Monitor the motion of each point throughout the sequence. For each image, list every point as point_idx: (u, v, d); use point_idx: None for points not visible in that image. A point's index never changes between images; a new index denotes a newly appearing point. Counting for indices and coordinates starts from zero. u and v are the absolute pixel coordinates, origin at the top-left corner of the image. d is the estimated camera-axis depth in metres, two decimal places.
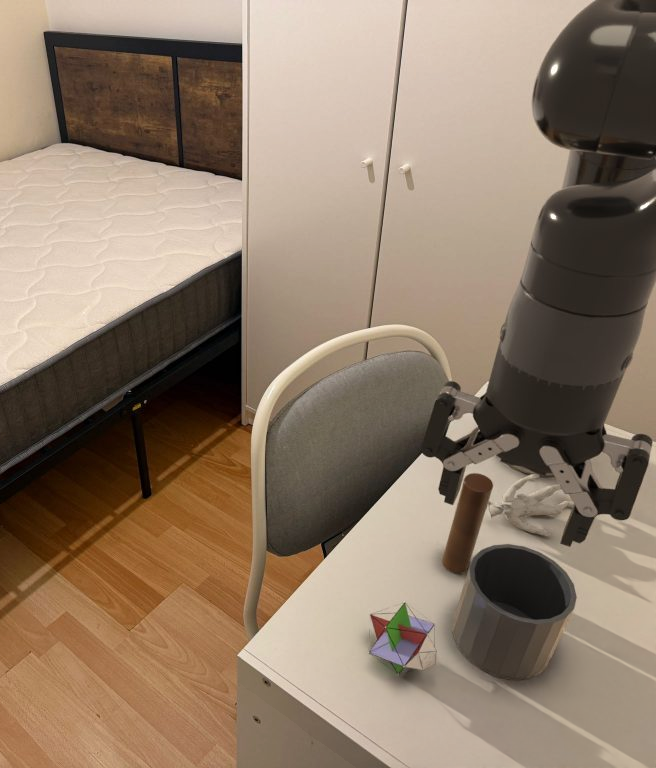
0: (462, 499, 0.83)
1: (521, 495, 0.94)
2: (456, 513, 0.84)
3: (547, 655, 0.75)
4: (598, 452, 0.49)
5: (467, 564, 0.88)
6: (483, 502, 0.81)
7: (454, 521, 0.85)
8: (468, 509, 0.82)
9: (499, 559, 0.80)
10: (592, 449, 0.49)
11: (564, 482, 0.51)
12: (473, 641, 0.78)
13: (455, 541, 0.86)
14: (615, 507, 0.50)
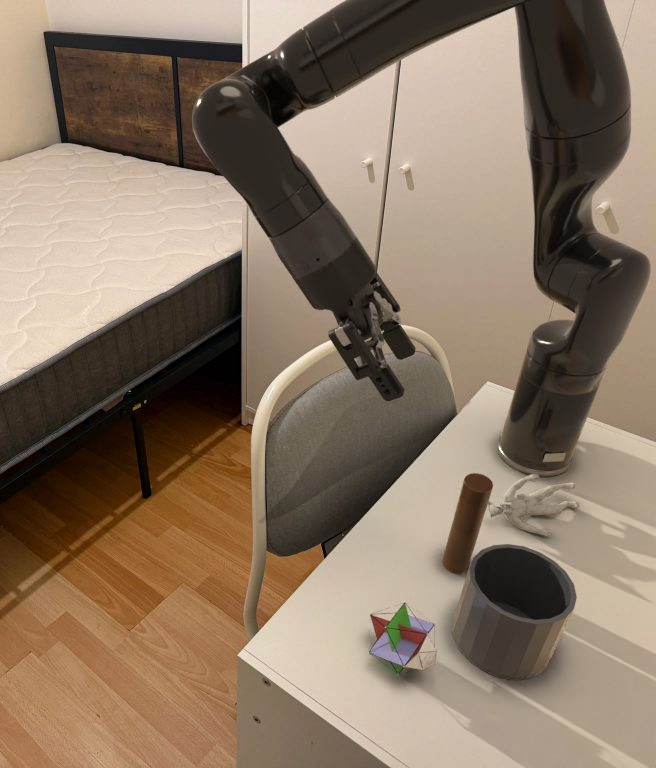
0: (462, 499, 0.83)
1: (521, 495, 0.94)
2: (456, 513, 0.84)
3: (547, 655, 0.75)
4: None
5: (467, 564, 0.88)
6: (483, 502, 0.81)
7: (454, 521, 0.85)
8: (468, 509, 0.82)
9: (499, 559, 0.80)
10: None
11: None
12: (473, 641, 0.78)
13: (455, 541, 0.86)
14: None
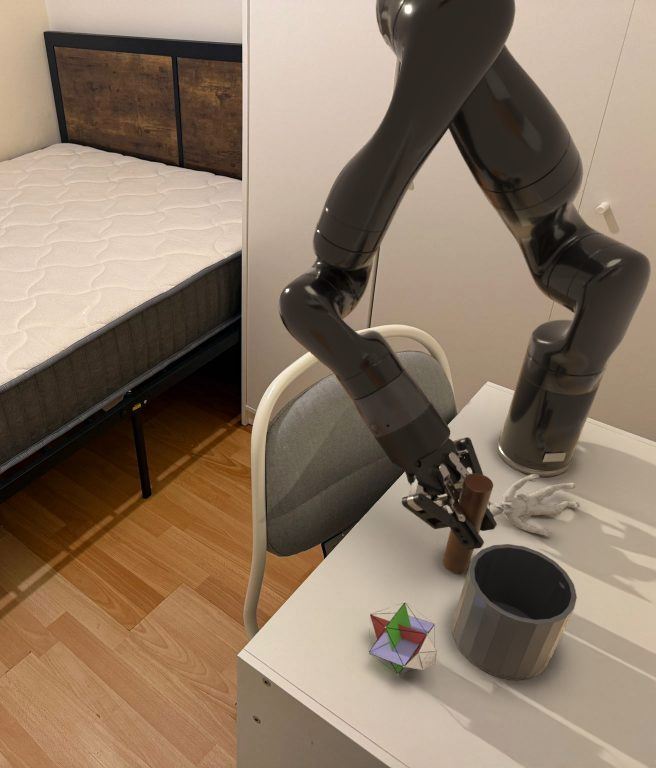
0: (462, 499, 0.82)
1: (521, 495, 0.94)
2: None
3: (547, 655, 0.75)
4: None
5: (467, 564, 0.88)
6: (484, 502, 0.81)
7: None
8: (468, 509, 0.82)
9: (499, 559, 0.80)
10: None
11: None
12: (473, 641, 0.78)
13: (455, 541, 0.86)
14: None
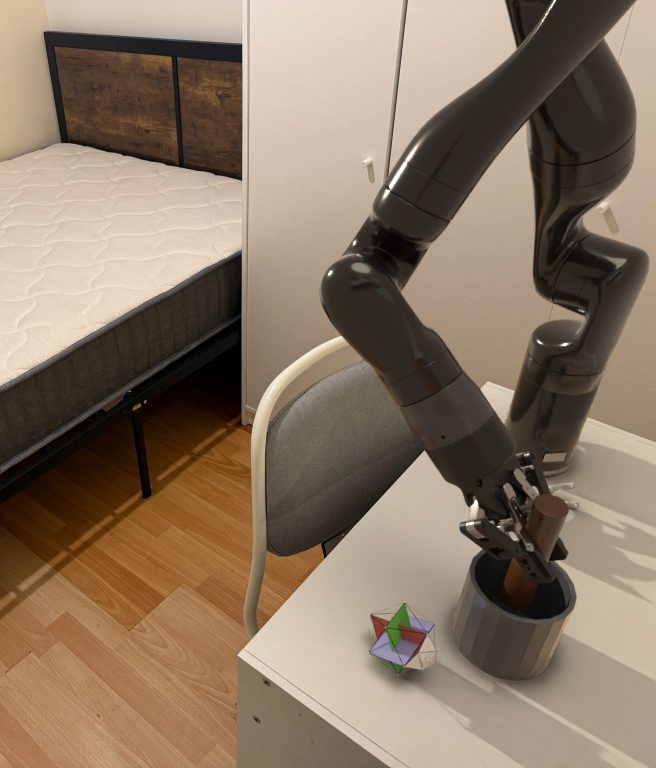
0: (530, 524, 0.70)
1: None
2: None
3: (547, 655, 0.75)
4: None
5: (531, 599, 0.75)
6: (557, 528, 0.68)
7: None
8: (538, 536, 0.69)
9: None
10: None
11: None
12: (473, 641, 0.78)
13: (518, 573, 0.73)
14: None
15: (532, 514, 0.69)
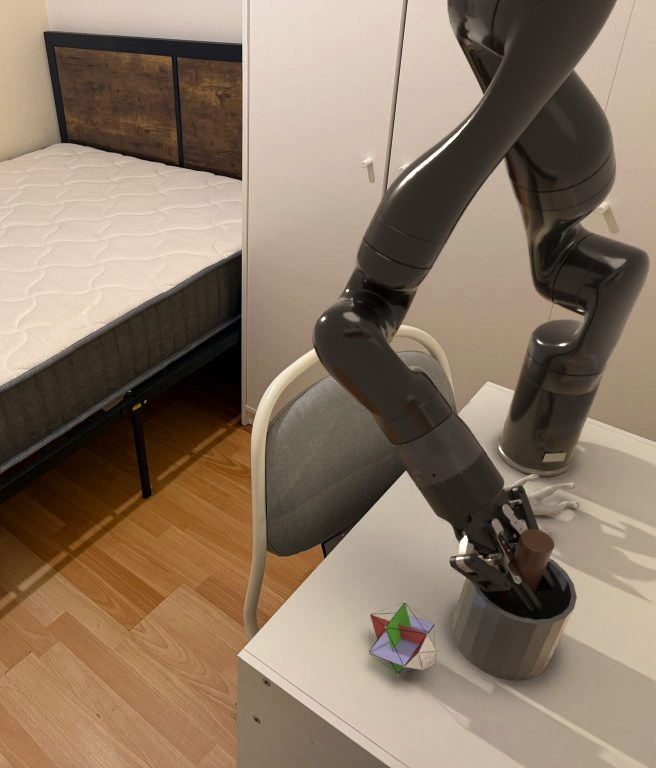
0: (517, 558, 0.73)
1: None
2: None
3: (547, 655, 0.75)
4: None
5: None
6: (543, 562, 0.71)
7: None
8: (525, 570, 0.72)
9: None
10: None
11: None
12: (473, 641, 0.78)
13: (507, 603, 0.76)
14: None
15: (519, 549, 0.72)
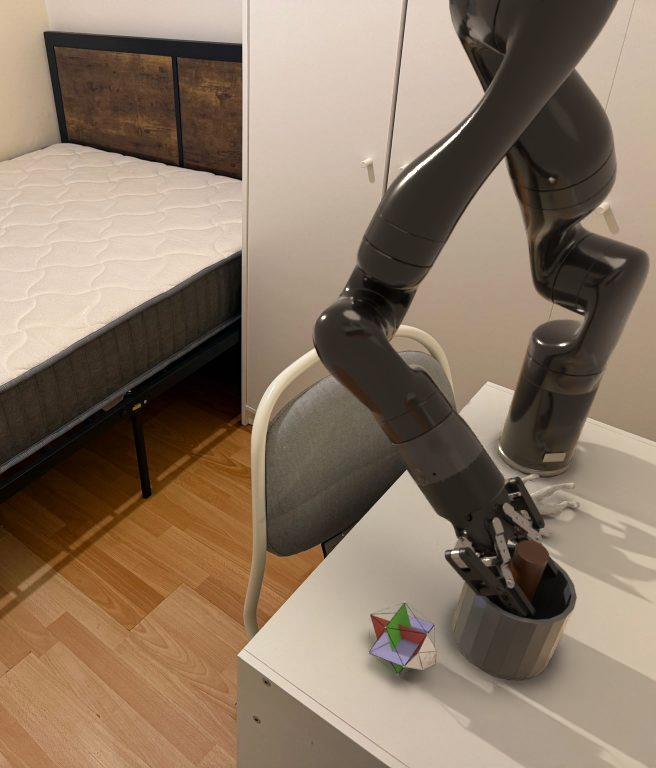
0: (513, 569, 0.74)
1: None
2: None
3: (547, 655, 0.75)
4: None
5: None
6: (538, 573, 0.72)
7: None
8: (520, 580, 0.73)
9: None
10: None
11: None
12: (473, 641, 0.78)
13: None
14: None
15: (515, 559, 0.73)
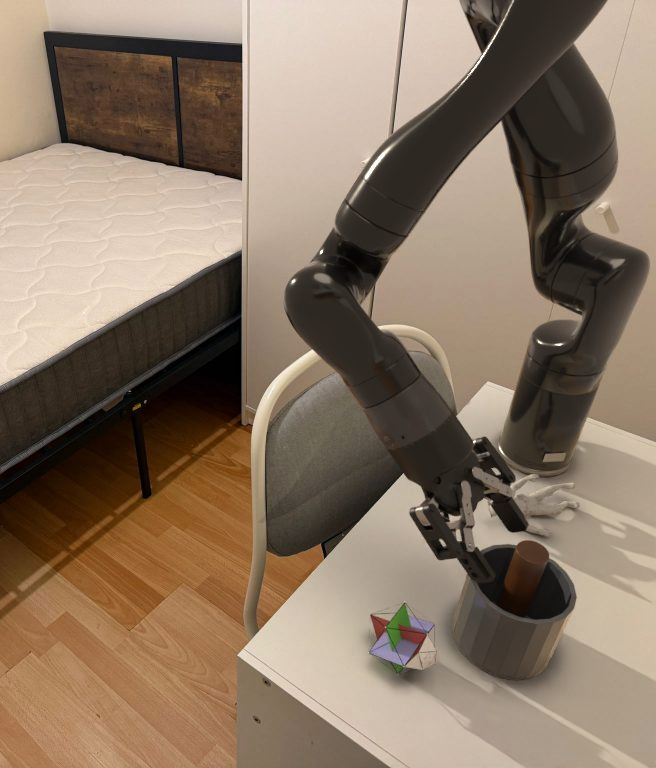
0: (513, 569, 0.74)
1: (521, 495, 0.94)
2: (505, 583, 0.76)
3: (547, 655, 0.75)
4: None
5: None
6: (538, 573, 0.72)
7: (503, 591, 0.76)
8: (520, 580, 0.73)
9: (499, 559, 0.80)
10: None
11: None
12: (473, 641, 0.78)
13: None
14: None
15: (515, 559, 0.73)
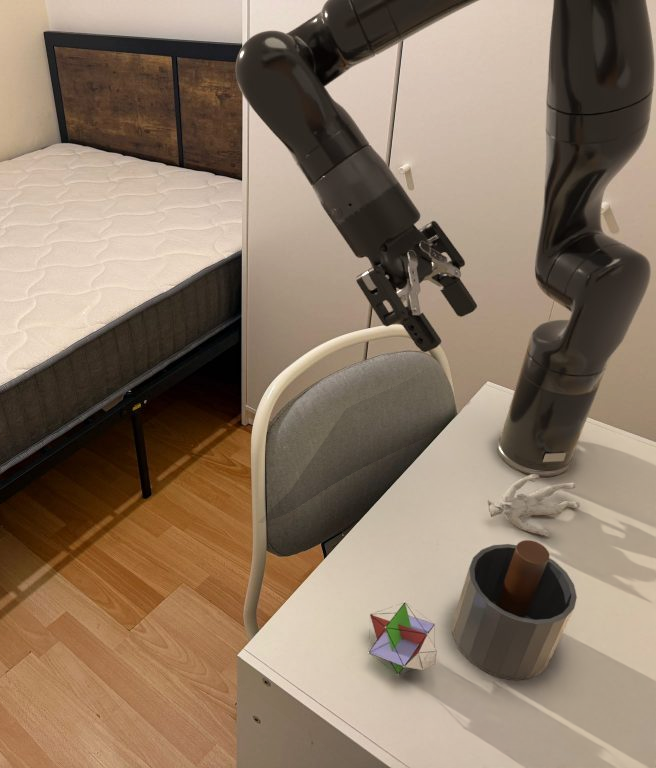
0: (513, 569, 0.74)
1: (521, 495, 0.94)
2: (505, 583, 0.76)
3: (547, 655, 0.75)
4: None
5: None
6: (538, 573, 0.72)
7: (503, 591, 0.76)
8: (520, 580, 0.73)
9: (499, 559, 0.80)
10: None
11: None
12: (473, 641, 0.78)
13: None
14: None
15: (515, 559, 0.73)
